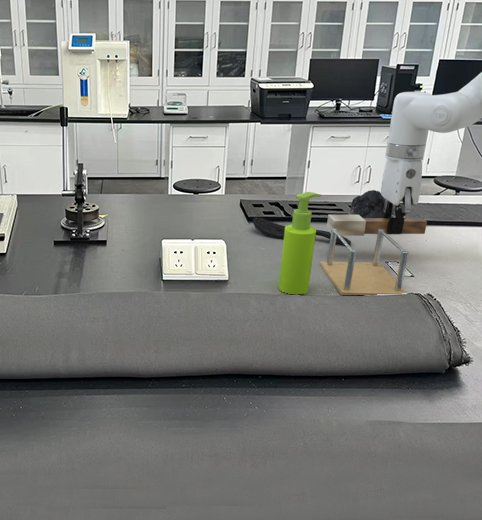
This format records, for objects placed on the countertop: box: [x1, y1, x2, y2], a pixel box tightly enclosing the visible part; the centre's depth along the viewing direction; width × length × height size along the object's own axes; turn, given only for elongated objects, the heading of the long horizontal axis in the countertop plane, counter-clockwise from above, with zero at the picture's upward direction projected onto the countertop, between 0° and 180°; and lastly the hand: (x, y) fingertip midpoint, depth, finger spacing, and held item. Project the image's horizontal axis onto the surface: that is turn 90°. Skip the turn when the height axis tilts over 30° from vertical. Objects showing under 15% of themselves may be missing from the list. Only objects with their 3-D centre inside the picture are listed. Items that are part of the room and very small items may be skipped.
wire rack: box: [319, 229, 410, 296], centre depth 111 cm, size 13×16×9 cm
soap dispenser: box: [277, 191, 322, 295], centre depth 105 cm, size 6×7×20 cm
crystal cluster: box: [349, 189, 400, 218], centre depth 144 cm, size 13×14×10 cm
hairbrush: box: [252, 214, 352, 247], centre depth 137 cm, size 8×4×25 cm
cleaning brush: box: [326, 214, 428, 237], centre depth 122 cm, size 21×5×4 cm, turn 87°
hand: (391, 230), depth 122 cm, fingers closed on cleaning brush, 2 cm apart
